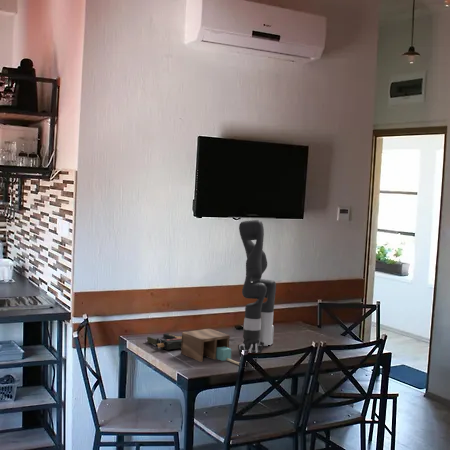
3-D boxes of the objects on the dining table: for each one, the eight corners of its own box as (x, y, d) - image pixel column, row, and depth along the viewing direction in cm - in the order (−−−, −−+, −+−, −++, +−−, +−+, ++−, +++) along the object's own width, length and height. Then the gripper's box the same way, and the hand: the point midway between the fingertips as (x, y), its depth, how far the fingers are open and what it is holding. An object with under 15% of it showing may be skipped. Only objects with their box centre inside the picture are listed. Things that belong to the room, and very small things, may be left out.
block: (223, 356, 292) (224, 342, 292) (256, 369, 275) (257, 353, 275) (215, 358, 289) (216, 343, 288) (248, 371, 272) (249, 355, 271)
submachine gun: (134, 343, 312) (161, 352, 292) (134, 333, 312) (161, 342, 292) (183, 338, 330) (211, 347, 310) (183, 329, 330) (211, 337, 310)
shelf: (208, 349, 304) (209, 328, 303) (228, 356, 293) (229, 335, 292) (180, 353, 293) (182, 332, 293) (200, 361, 282) (201, 339, 281)
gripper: (258, 324, 281) (255, 361, 282) (234, 327, 272) (231, 366, 273) (269, 327, 275) (267, 366, 277) (245, 331, 266) (243, 370, 267)
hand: (249, 365), depth 275 cm, fingers closed on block, 4 cm apart
